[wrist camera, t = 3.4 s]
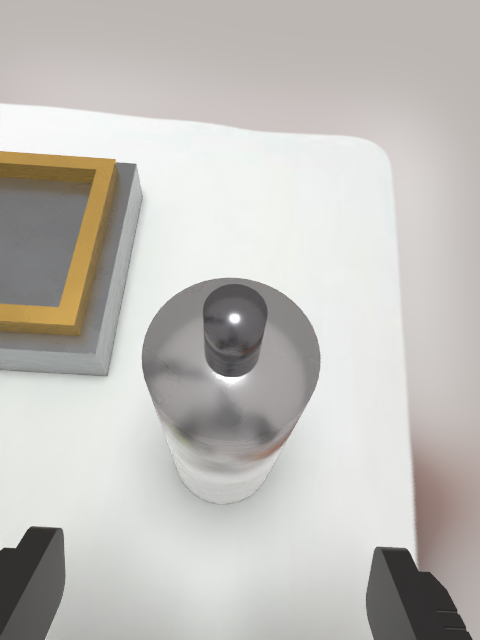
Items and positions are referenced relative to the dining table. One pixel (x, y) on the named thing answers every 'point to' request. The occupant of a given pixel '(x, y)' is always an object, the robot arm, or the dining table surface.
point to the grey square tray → (63, 259)
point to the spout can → (229, 382)
